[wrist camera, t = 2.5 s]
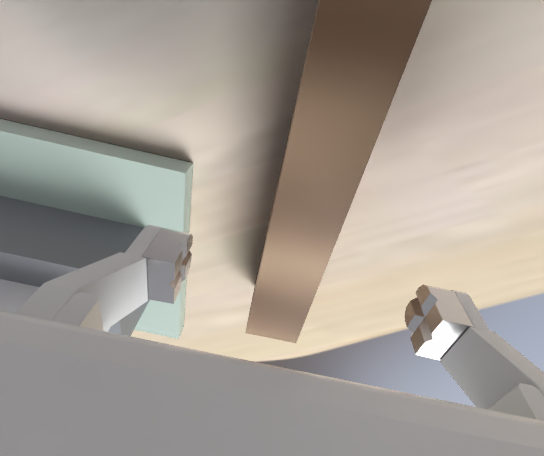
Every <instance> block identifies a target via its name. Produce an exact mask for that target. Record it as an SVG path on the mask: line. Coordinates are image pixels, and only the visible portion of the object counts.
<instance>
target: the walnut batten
mask: <svg viewBox="0 0 544 456" xmlns="http://www.w3.org/2000/svg"><path fill="white" fill-rule="evenodd" d="M431 1H432V0H318V4H317V8H316V13H315V17H314V22H313V26H312V31H311V35H310V40H309V44H308V49H307V53H306V58H305V62H304V67H303V71H302V76H301V80H300V85H299V89H298V94H297V98H296V103H295V107H294V112H293V116H292V121H291V125H290V130H289V134H288V139H287V143H286V148H285V152H284V157H283V161H282V166H281V170H280V175H279V179H278V184H277V188H276V193H275V197H274V202H273V206H272V211H271V215H270V220H269V224H268V229H267V233H266V238H265V242H264V247H263V251H262V256H261V260H260V265H259V269H258V274H257V278H256V283H255V288H254V293H253V298H252V303H251V308H250V313H249V318H248V323H247V328H246V333H248V334H253V335H258V336H263V337H268V338H273V339H278V340H283V341H288V342H293V343H296V342H297V339H298V337H299V334H300V332H301V329H302V327H303V324H304V322H305V319H306V317H307V314H308V312H309V309H310V307H311V304H312V301H313V299H314V296H315V294H316V291H317V289H318V286H319V284H320V281H321V279H322V276H323V274H324V271H325V269H326V266H327V264H328V261H329V259H330V256H331V254H332V251H333V248H334V246H335V243H336V241H337V238H338V236H339V233H340V231H341V228H342V226H343V223H344V221H345V218H346V216H347V213H348V211H349V208H350V206H351V203H352V201H353V198H354V195H355V193H356V190H357V188H358V185H359V183H360V180H361V178H362V175H363V173H364V170H365V168H366V165H367V163H368V160H369V158H370V155H371V153H372V150H373V148H374V145H375V142H376V140H377V137H378V135H379V132H380V130H381V127H382V125H383V122H384V120H385V117H386V115H387V112H388V110H389V107H390V105H391V102H392V100H393V97H394V95H395V92H396V89H397V87H398V84H399V82H400V79H401V77H402V74H403V72H404V69H405V67H406V64H407V62H408V59H409V57H410V54H411V52H412V49H413V47H414V44H415V42H416V39H417V36H418V34H419V31H420V29H421V26H422V24H423V21H424V19H425V16H426V14H427V11H428V9H429V6H430V4H431Z"/></svg>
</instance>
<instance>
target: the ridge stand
mask: <svg viewBox="0 0 544 456" xmlns="http://www.w3.org/2000/svg"><path fill="white" fill-rule="evenodd" d="M192 173H193V163H190V162H186V161H182V160H177V159H173V158H169V157H164V156H160V155H155V154H151V153H147V152H142V151H138V150H134V149H129V148H125V147H121V146H116V145H112V144H108V143H103V142H99V141H95V140H90V139H86V138H82V137H77V136H73V135H69V134H64V133H60V132H56V131H51V130H47V129H43V128H38V127H34V126H30V125H25V124H21V123H17V122H12V121H8V120H4V119H0V310H2V311H7V312H12V313H15V312H16V311H17V310H18V309H19V308H20V307H21V306H22V305H23V304H24V303H25V302H26V301H27V300H28V299H29V298H30V297H31V296H32V295H33V294H34V293H35V292H36V291H37V290H38V289H39V288H40V287H41V286H42V285H43V284H44V283H45V282H48V281H50V280H52V279H55V278H57V277H60V276H62V275H65V274H67V273H70V272H72V271H75V270H77V269H80V268H82V267H85V266H87V265H90V264H92V263H95V262H97V261H100V260H102V259H105V258H107V257H110V256H112V255H115V254H117V253H120V252H121V253H125V252H126V251H127V249H128V248H129V247H130V245H131V244H132V243H133V242H134V240H135V239H136V238H137V236H138V235H139V234H140V233H141V231H142V230H143V229H144V227H145V226H147V225H153V226H157V227H162V228H167V229H171V230H175V231H179V232H183V233H188V234H189V226H190V208H191V190H192ZM186 279H187V276H186ZM186 279H185V280H184V281H182V282H181V290H180V292H179V294H178V296H177V298H176V300H175V302H174V304H171V303H165V302H160V301H154V300H149V299H148V301H147V302H145V303H144V304H143V305H141V306H140V307H138V308H137V309H135V310H134V311H132V312H131V313H130V314H128V315H127V316H125V317H124V318H122V319H121V320H119V321H118V322H117V323H115V324H114V325H112V326H111V327H109V328H108V329H106V330H105V332H110V333H115V334H120V335H125V336H131V334H132V332H133V330H138V331H143V332H148V333H153V334H157V335H162V336H167V337H172V338H177V339H179V337H180V334H181V332H182V329H183V327H184V315H185V297H186Z"/></svg>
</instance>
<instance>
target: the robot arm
mask: <svg viewBox="0 0 544 456" xmlns="http://www.w3.org/2000/svg"><path fill="white" fill-rule="evenodd" d="M192 238H193V236H192V234H188V233H183V232H179V231H175V230H171V229H167V228H162V227H157V226H153V225H147V226H145V227H144V229H143V230H142V231H141V233H140V234H139V235H138V236H137V238H136V239H135V240H134V242H133V243H132V244H131V245H130V247H129V248H128V249H127V251H126V252H125V253H121V252H120V253H117V254H115V255H112V256H110V257H107V258H105V259H102V260H100V261H97V262H95V263H92V264H90V265H87V266H85V267H82V268H80V269H77V270H75V271H72V272H70V273H67V274H65V275H62V276H60V277H57V278H55V279H52V280H50V281H48V282H45V283H44V284H43V285H42V286H41V287H40V288H39V289H38V290H37V291H36V292H35V293H34V294H33V295H32V296H31V297H30V298H29V299H28V300H27V301H26V302H25V303H24V304H23V305H22V306H21V307H20V308H19V309H18V310H17V311H16V312H15V313H12V312H7V311H2V310H0V456H544V372H542V371H541V370H540V369H539V368H538V367H536V366H535V365H534V364H533V363H532V362H530V361H529V360H528V359H527V358H525V357H524V356H523V355H522V354H521V353H519V352H518V351H517V350H516V349H514V348H513V347H512V346H511V345H510V344H508V343H507V342H506V341H505V340H504V339H502V338H501V337H500V336H499V335H497V334H496V333H495V332H493V331H490V330H489V329H488V327H487V325H486V323H485V322H484V320H483V318H482V317H481V315H480V313H479V311H478V310H477V308H476V306H475V305H474V303H473V301H472V299H471V298H470V296H469V295H468V294H466V293H463V292H458V291H453V290H451V291H450V290H446V289H441V288H436V287H432V286H427V285H422V286H420V287H419V288H418V290H417V291H416V295H417V298H415V299H413V300H411V301H410V302H409V304H408V305H407V307H406V311H405V322H406V325H407V327H408V328H409V330H410V331H411V332H412V333H413V334H412V336H411V341H412V344H413V347H414V350H415V353H416V355H420V356H425V357H429V358H433V359H437V360H440V362H441V363H442V365H443V366H444V367H445V369H446V370H447V371H448V372H449V374H450V375H451V376H452V377H453V379H454V380H455V381H456V382H457V384H458V385H459V386H460V387H461V388H462V390H463V391H464V392H465V393H466V395H467V396H468V397H469V398H470V400H471V401H472V402H473V403H474V405H475V406H476V407H473V406H467V405H463V404H458V403H453V402H448V401H443V400H439V399H434V398H429V397H424V396H419V395H414V394H409V393H404V392H399V391H395V390H389V389H385V388H380V387H375V386H370V385H365V384H360V383H355V382H351V381H345V380H341V379H336V378H331V377H326V376H321V375H316V374H311V373H306V372H301V371H297V370H291V369H287V368H282V367H277V366H272V365H267V364H262V363H257V362H253V361H248V360H243V359H238V358H233V357H228V356H223V355H218V354H213V353H208V352H203V351H199V350H194V349H189V348H184V347H179V346H174V345H169V344H164V343H159V342H154V341H150V340H145V339H140V338H135V337H130V336H125V335H120V334H115V333H110V332H105V330H106V329H108V328H109V327H111V326H112V325H114V324H115V323H117V322H118V321H119V320H121V319H122V318H124V317H125V316H127V315H128V314H130V313H131V312H132V311H134V310H135V309H137V308H138V307H140V306H141V305H143V304H144V303H145V302H147V301H148V299H149V300H154V301H160V302H165V303H171V304H174V302H175V300H176V298H177V296H178V294H179V292H180V290H181V282H182V281H184V280H185V279H186V276H187V274H188V271H189V268H190V263H191V256H192V254H191V252H190V251H189V250H190V248H191V246H192Z"/></svg>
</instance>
